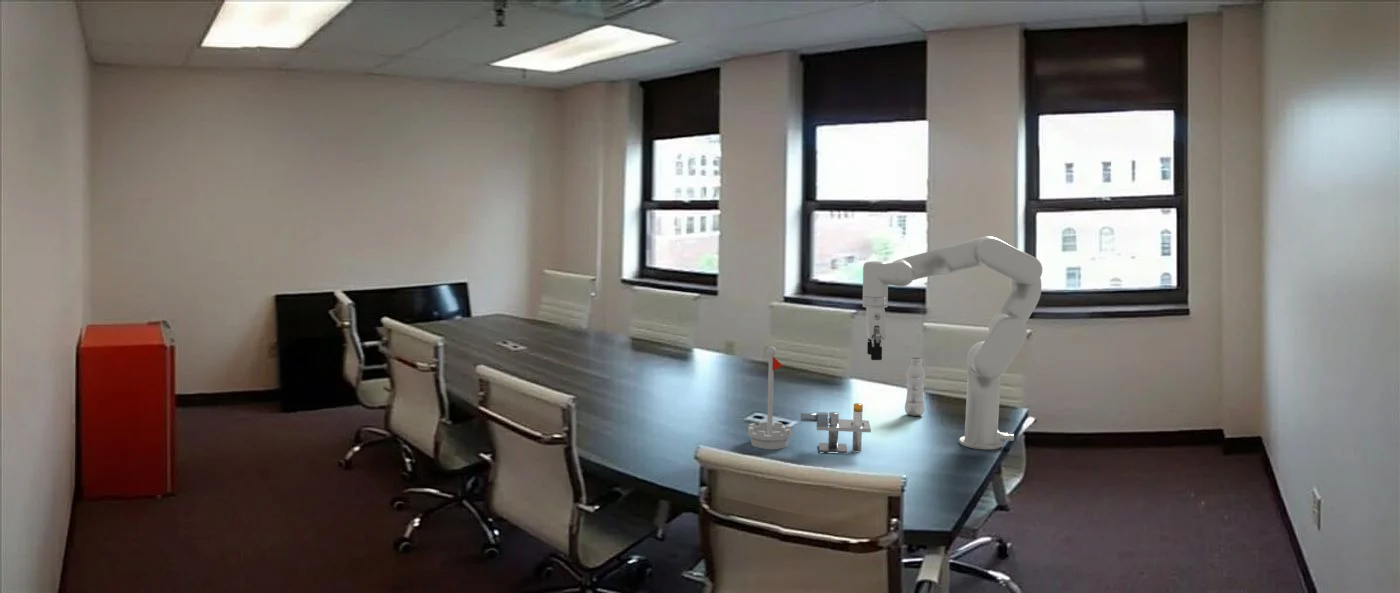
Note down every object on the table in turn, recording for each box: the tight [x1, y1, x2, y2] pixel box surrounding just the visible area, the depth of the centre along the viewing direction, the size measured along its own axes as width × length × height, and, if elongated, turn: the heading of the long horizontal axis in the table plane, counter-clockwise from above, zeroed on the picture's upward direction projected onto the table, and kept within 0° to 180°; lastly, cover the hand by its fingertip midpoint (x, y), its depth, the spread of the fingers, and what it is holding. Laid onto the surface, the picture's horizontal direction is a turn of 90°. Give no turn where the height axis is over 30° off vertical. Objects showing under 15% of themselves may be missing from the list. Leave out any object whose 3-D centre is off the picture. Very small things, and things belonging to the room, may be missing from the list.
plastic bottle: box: [904, 357, 926, 417], centre depth 307 cm, size 6×7×20 cm
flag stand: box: [747, 346, 792, 450], centre depth 268 cm, size 13×13×30 cm
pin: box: [851, 403, 864, 452], centre depth 263 cm, size 3×3×14 cm
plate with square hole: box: [800, 411, 872, 454], centre depth 264 cm, size 20×10×11 cm, turn 83°
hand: (874, 357), depth 275 cm, fingers open, 9 cm apart
